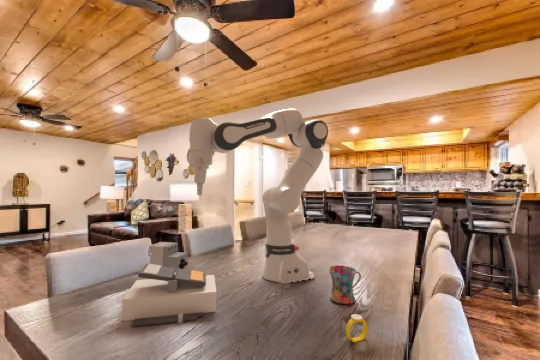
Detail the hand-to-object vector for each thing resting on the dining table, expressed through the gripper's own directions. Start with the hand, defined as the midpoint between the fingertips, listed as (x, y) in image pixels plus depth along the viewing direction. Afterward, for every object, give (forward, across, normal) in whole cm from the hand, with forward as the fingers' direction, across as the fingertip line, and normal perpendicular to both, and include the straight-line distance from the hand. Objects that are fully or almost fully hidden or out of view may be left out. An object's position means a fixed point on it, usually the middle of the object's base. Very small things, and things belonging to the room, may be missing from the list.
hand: (199, 195), depth 99 cm
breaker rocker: (+26, -13, +7) cm, 29 cm away
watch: (+35, -44, -40) cm, 69 cm away
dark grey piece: (+35, -24, +7) cm, 43 cm away
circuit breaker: (+35, +8, +11) cm, 38 cm away
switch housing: (+35, -13, +7) cm, 38 cm away
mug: (+35, -22, -50) cm, 65 cm away
